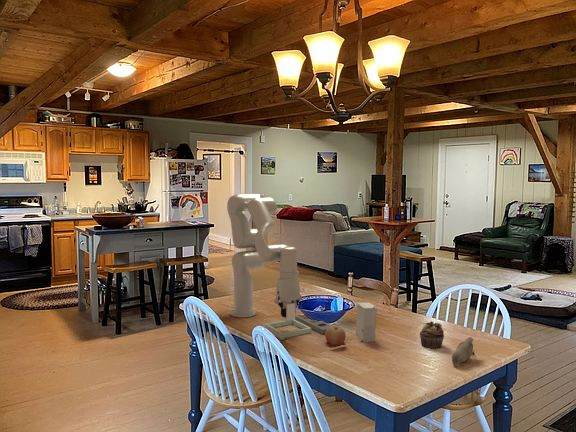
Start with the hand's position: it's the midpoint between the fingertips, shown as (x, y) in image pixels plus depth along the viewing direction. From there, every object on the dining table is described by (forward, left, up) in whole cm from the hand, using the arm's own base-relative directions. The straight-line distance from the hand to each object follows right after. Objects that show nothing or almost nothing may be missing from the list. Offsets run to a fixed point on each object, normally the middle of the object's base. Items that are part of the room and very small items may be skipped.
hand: (288, 315), depth 209 cm
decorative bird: (+60, +41, -8) cm, 73 cm away
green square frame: (0, 0, -8) cm, 8 cm away
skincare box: (+23, +25, -8) cm, 35 cm away
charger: (0, 0, -3) cm, 3 cm away
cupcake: (+43, +43, -8) cm, 61 cm away
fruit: (+23, +9, -8) cm, 26 cm away
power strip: (-4, +14, -8) cm, 16 cm away
